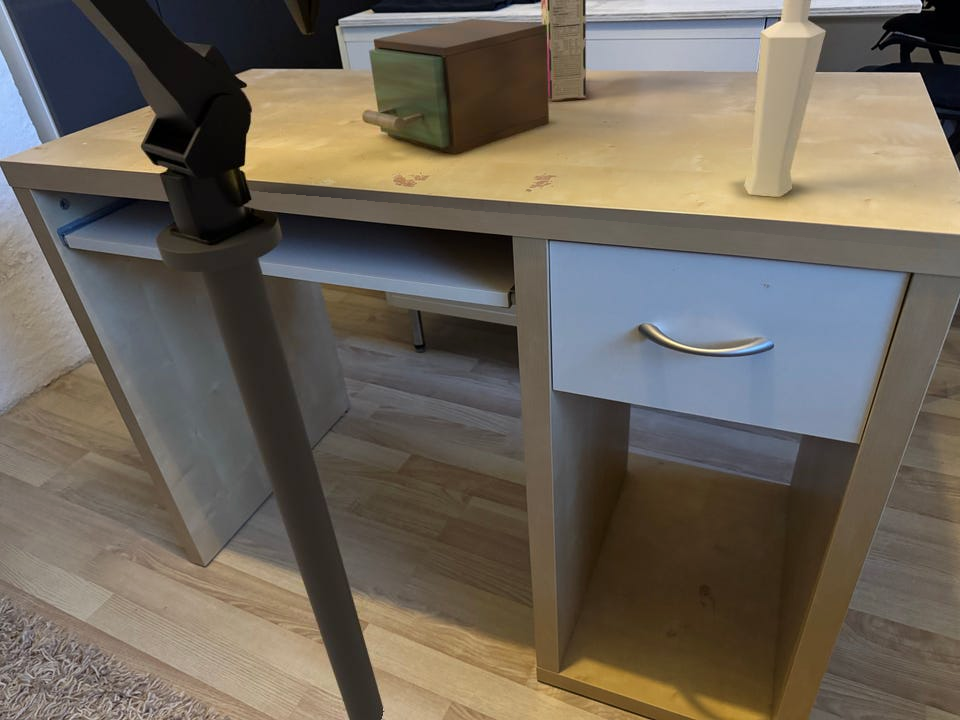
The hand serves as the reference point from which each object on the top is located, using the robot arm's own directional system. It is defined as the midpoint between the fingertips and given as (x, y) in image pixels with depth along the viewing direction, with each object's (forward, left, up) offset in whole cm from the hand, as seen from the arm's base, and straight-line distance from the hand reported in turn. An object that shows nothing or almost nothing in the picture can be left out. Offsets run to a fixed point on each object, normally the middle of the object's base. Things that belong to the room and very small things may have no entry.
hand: (308, 33), depth 66 cm
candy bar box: (+37, -8, -13) cm, 40 cm away
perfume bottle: (+10, -42, -13) cm, 45 cm away
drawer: (+13, -5, -12) cm, 18 cm away
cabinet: (+17, -6, -13) cm, 22 cm away
